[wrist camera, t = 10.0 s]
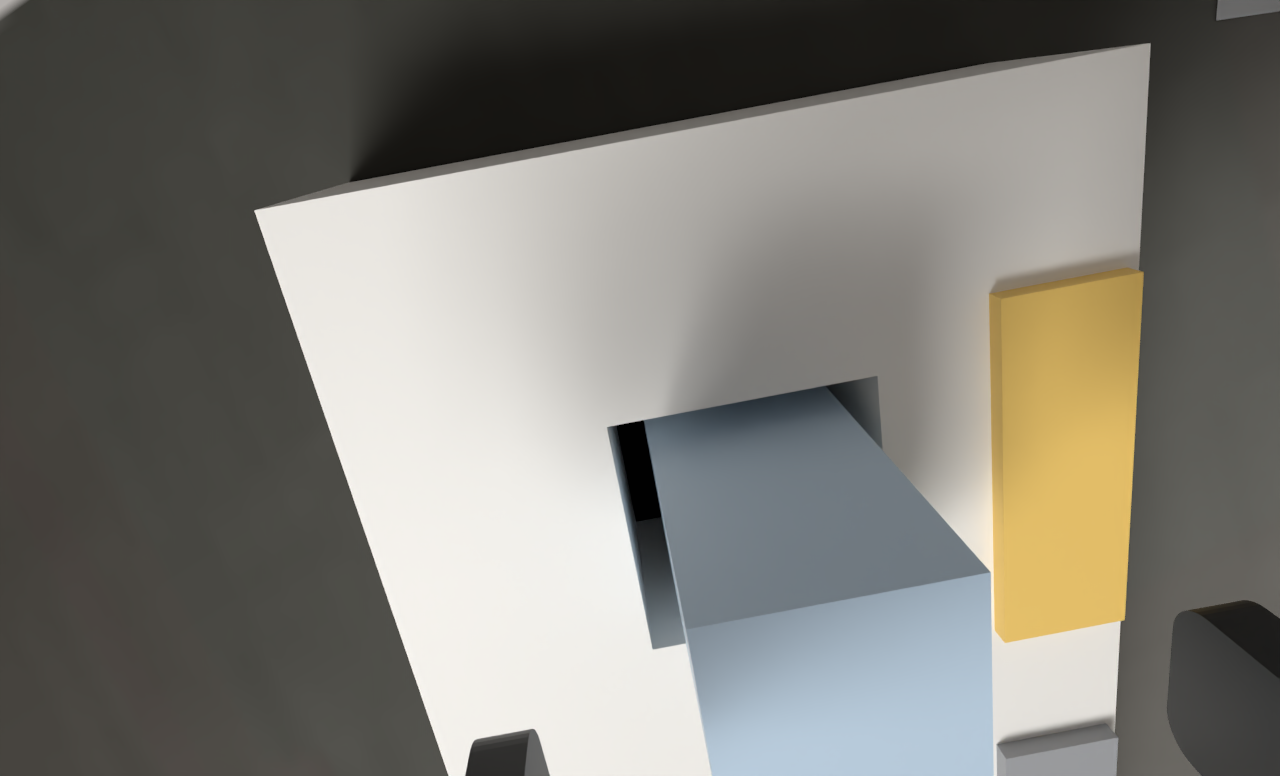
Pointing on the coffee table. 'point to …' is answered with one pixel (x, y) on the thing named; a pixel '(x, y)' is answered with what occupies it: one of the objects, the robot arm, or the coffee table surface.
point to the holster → (1245, 8)
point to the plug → (820, 597)
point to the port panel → (739, 381)
